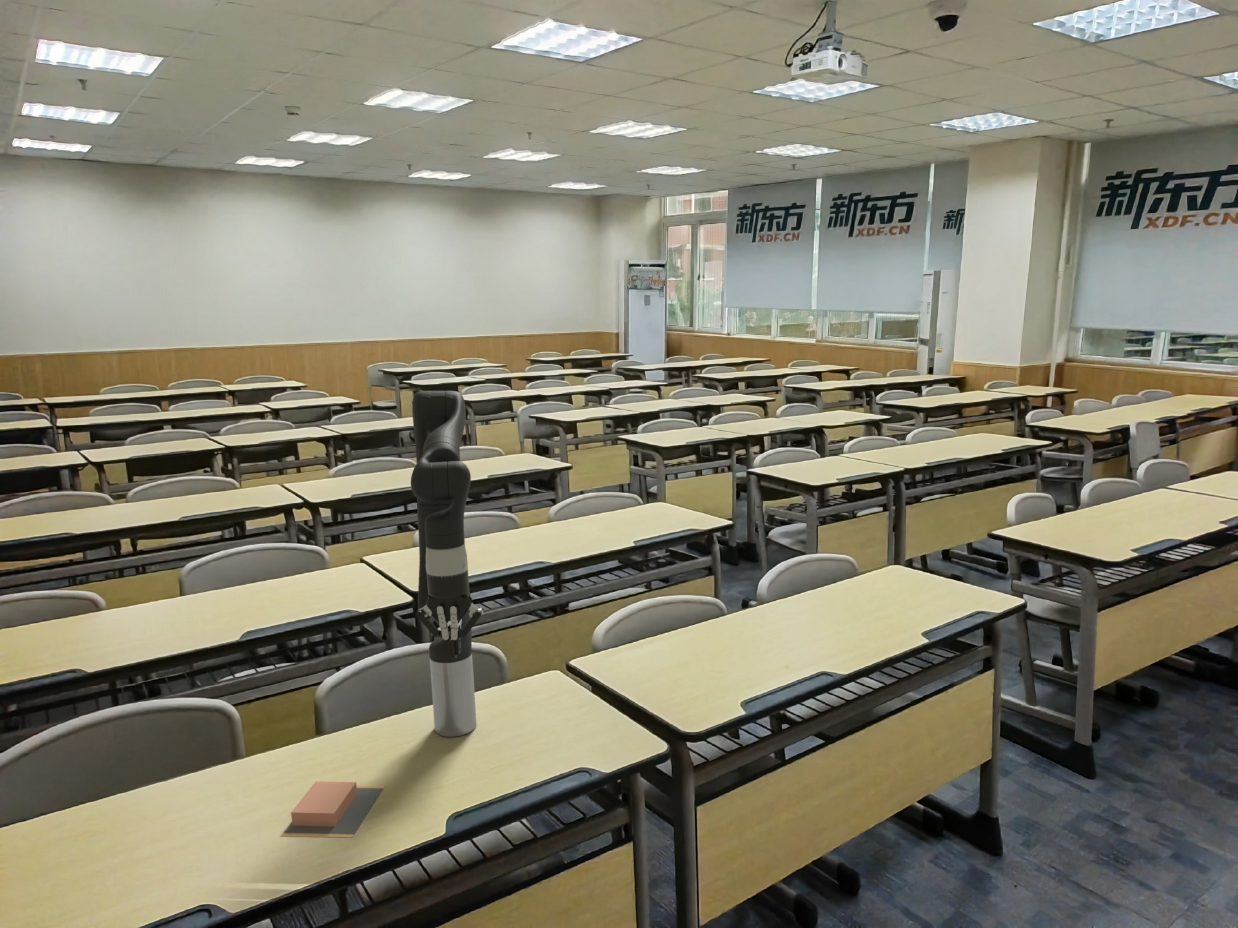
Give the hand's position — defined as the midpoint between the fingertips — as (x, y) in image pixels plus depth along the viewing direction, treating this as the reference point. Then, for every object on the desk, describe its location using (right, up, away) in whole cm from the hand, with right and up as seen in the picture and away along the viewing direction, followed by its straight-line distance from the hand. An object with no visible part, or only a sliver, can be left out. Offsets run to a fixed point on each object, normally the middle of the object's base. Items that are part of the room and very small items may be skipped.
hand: (453, 656), depth 154 cm
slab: (-19, -27, -3) cm, 33 cm away
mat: (-21, -28, -2) cm, 36 cm away
